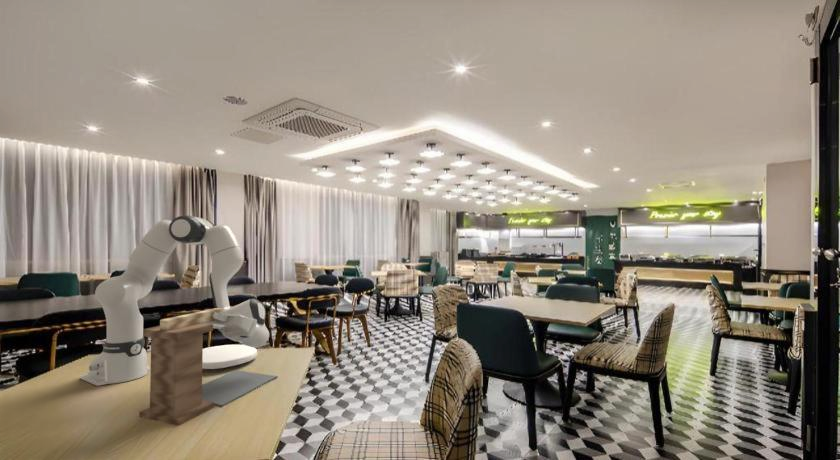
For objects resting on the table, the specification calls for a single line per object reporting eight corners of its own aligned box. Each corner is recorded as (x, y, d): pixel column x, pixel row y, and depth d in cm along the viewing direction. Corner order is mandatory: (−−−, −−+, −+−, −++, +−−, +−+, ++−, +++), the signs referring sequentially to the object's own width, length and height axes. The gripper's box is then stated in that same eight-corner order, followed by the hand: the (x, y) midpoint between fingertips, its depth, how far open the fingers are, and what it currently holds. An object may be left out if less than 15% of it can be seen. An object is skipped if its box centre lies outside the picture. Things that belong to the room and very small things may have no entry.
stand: (139, 416, 112) (140, 329, 112) (176, 400, 123) (177, 320, 124) (179, 425, 107) (180, 333, 107) (214, 407, 118) (215, 324, 119)
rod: (167, 330, 110) (167, 320, 110) (159, 330, 111) (160, 319, 111) (222, 317, 129) (222, 308, 129) (215, 316, 130) (215, 307, 130)
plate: (219, 340, 177) (270, 344, 172) (218, 355, 176) (269, 359, 171) (169, 352, 150) (227, 357, 144) (167, 369, 149) (226, 374, 144)
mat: (174, 398, 125) (174, 396, 125) (235, 371, 149) (235, 370, 149) (222, 406, 118) (222, 404, 118) (277, 377, 143) (277, 376, 143)
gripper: (216, 316, 141) (188, 303, 130) (261, 320, 135) (235, 306, 124) (209, 332, 138) (179, 320, 127) (254, 337, 132) (227, 325, 120)
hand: (207, 313), depth 125 cm, fingers closed on rod, 3 cm apart
